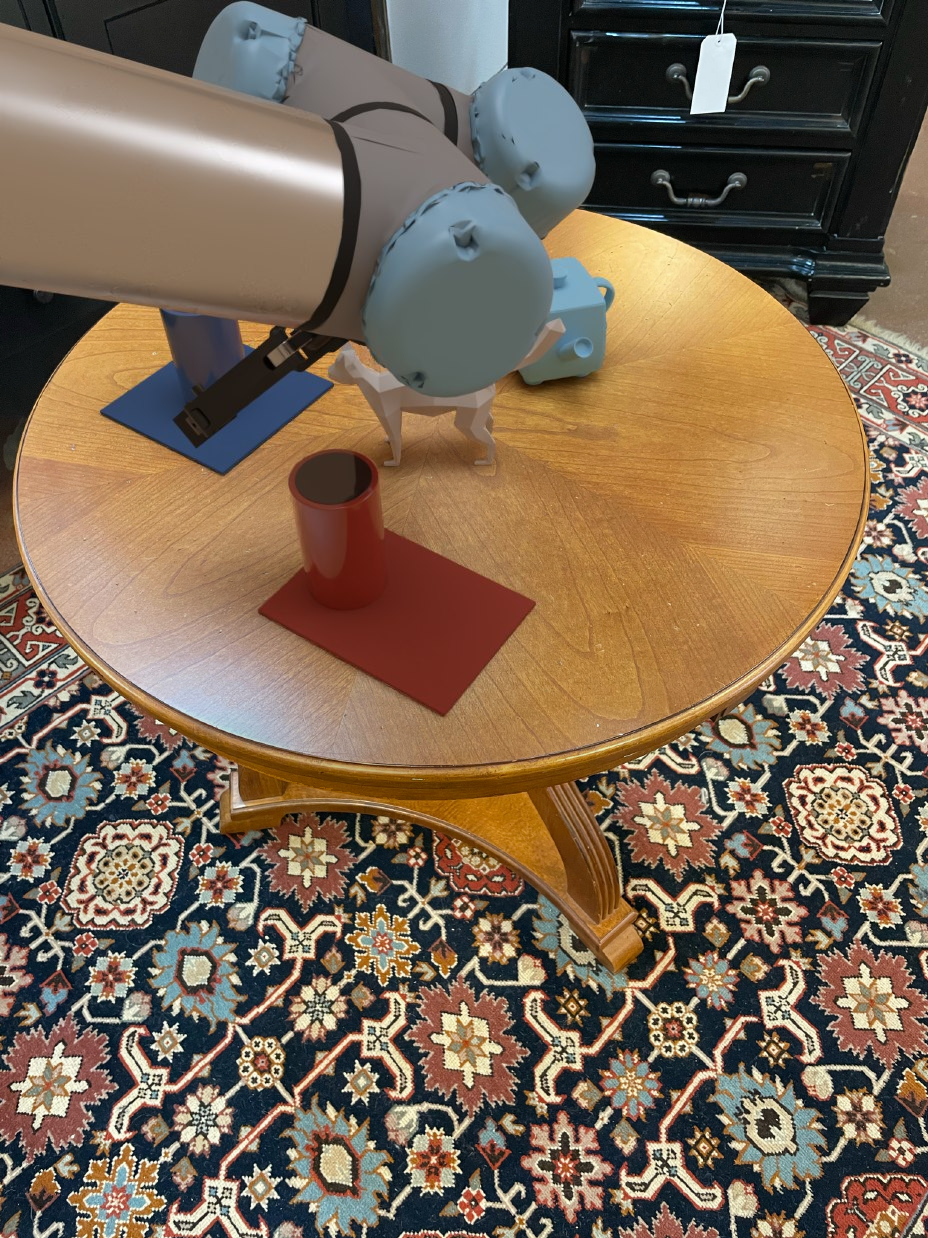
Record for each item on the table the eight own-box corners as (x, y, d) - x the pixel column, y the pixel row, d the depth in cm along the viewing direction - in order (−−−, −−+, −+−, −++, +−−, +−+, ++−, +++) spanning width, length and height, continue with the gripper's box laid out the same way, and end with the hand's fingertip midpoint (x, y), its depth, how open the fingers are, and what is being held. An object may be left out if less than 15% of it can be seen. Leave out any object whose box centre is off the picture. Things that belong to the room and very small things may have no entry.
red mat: (258, 612, 76) (257, 609, 76) (358, 517, 83) (357, 514, 83) (444, 717, 70) (444, 714, 69) (536, 604, 77) (536, 601, 76)
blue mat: (100, 413, 92) (99, 410, 92) (215, 334, 101) (214, 330, 100) (223, 475, 86) (222, 472, 86) (334, 385, 95) (333, 382, 95)
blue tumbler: (170, 402, 93) (140, 300, 84) (217, 368, 96) (193, 266, 88) (220, 426, 90) (195, 323, 82) (267, 390, 94) (247, 288, 85)
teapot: (638, 401, 93) (654, 310, 86) (501, 426, 91) (505, 334, 83) (575, 303, 104) (584, 214, 97) (451, 323, 102) (450, 233, 94)
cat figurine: (340, 437, 90) (322, 305, 79) (552, 433, 90) (564, 301, 79) (337, 470, 87) (319, 338, 76) (556, 465, 87) (569, 333, 76)
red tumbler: (290, 587, 77) (268, 485, 69) (341, 539, 81) (326, 436, 72) (354, 622, 75) (340, 521, 66) (404, 571, 78) (397, 469, 70)
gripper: (299, 423, 54) (167, 513, 71) (527, 235, 67) (371, 349, 84) (210, 309, 52) (96, 431, 68) (464, 139, 65) (317, 276, 82)
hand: (247, 386), depth 76 cm, fingers open, 13 cm apart
